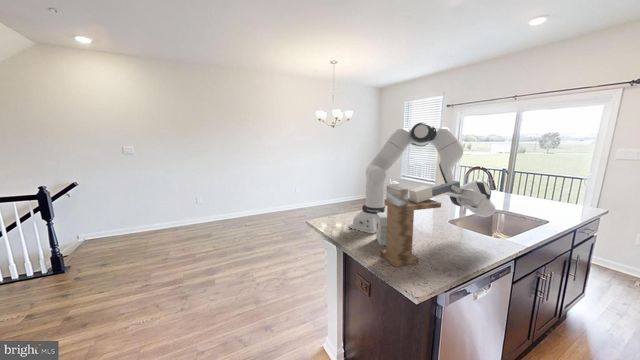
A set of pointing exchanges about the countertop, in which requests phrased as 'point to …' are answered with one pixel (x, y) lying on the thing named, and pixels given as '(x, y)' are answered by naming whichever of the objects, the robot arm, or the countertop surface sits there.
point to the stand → (401, 225)
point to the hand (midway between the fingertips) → (447, 185)
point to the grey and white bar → (430, 191)
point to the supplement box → (381, 228)
